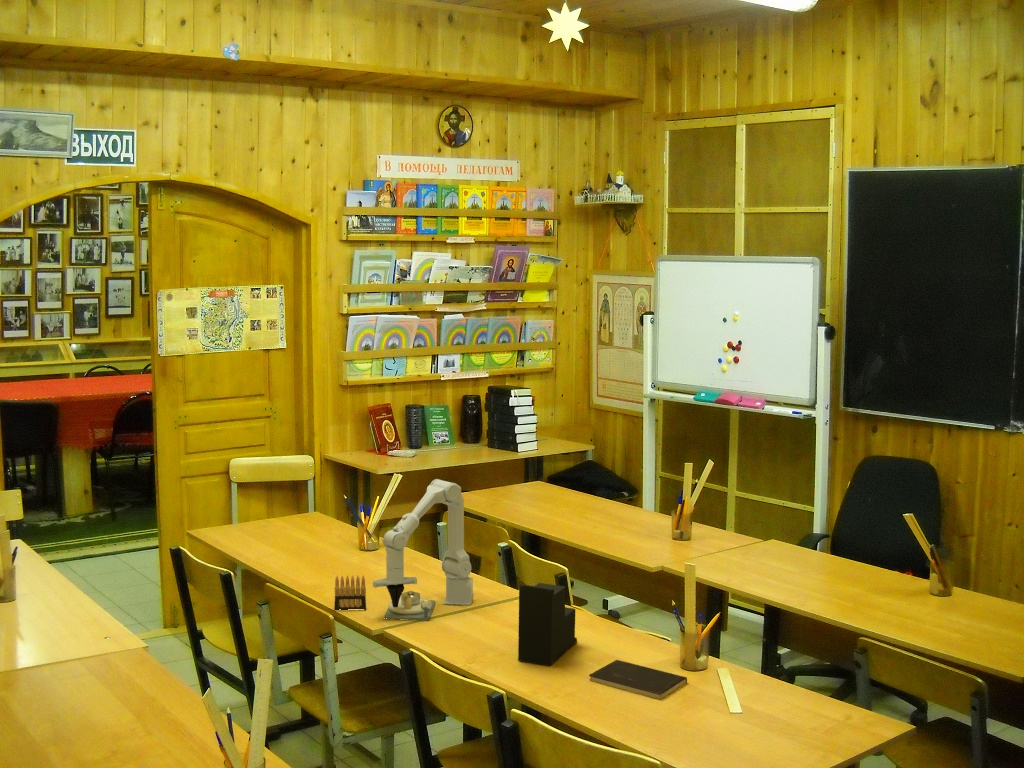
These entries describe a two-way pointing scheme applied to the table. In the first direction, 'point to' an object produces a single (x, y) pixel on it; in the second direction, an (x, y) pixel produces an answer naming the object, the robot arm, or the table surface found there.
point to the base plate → (417, 617)
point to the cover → (414, 596)
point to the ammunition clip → (350, 594)
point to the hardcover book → (638, 679)
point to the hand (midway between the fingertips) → (395, 606)
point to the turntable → (407, 606)
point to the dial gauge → (426, 607)
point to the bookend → (544, 624)
